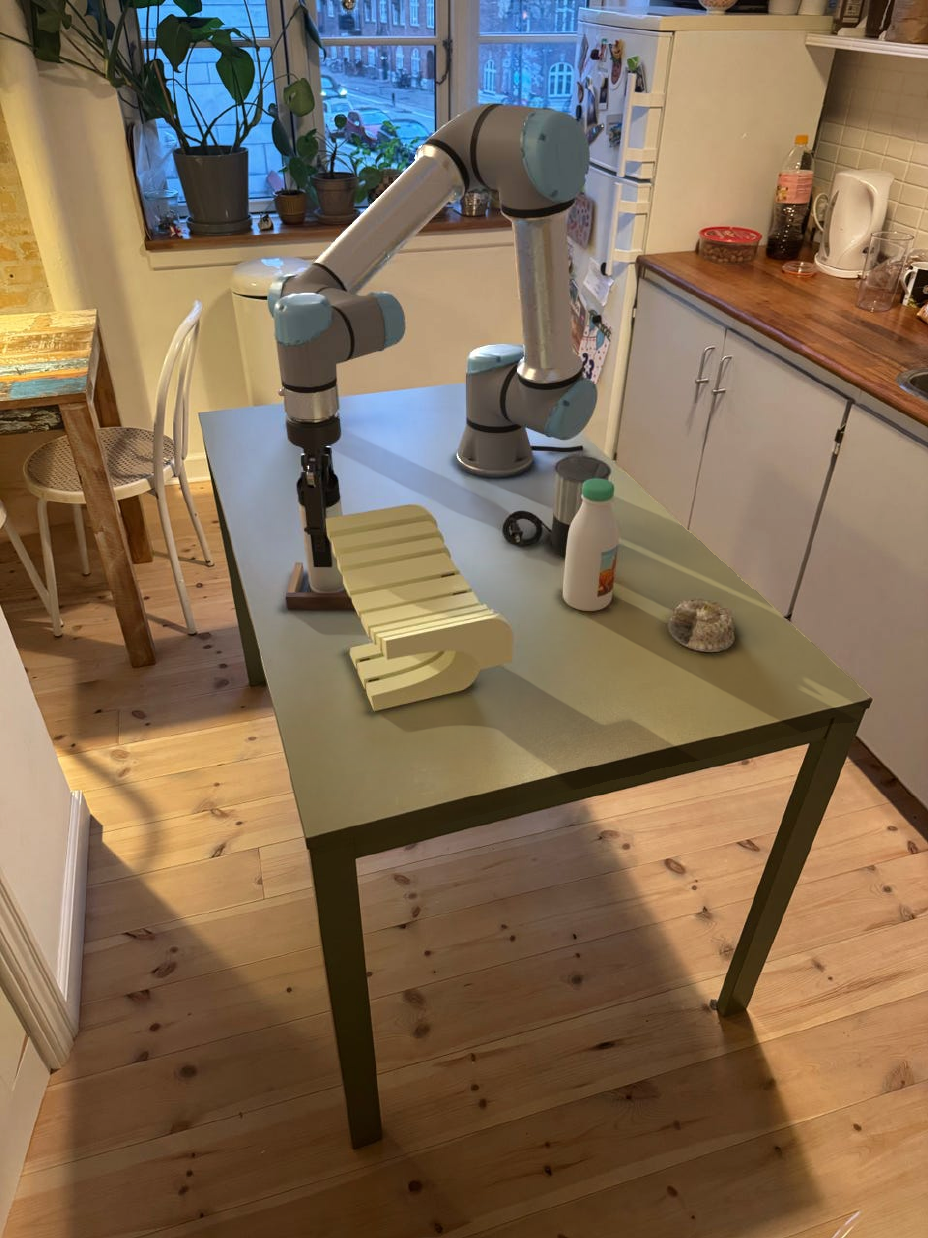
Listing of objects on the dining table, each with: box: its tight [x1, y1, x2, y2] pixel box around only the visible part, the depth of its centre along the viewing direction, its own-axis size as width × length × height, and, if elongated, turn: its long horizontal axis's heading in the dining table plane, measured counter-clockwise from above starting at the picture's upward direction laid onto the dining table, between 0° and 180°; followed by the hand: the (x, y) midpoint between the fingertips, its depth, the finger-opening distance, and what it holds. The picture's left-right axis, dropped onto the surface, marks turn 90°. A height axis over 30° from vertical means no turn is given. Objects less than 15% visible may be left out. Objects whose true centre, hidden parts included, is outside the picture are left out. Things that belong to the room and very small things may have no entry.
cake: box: [667, 597, 736, 653], centre depth 130 cm, size 10×10×5 cm
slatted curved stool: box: [326, 503, 514, 712], centre depth 119 cm, size 30×16×18 cm, turn 20°
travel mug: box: [295, 469, 347, 593], centre depth 134 cm, size 6×7×20 cm
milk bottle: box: [562, 478, 619, 612], centre depth 133 cm, size 8×8×20 cm
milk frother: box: [501, 455, 612, 558], centre depth 148 cm, size 14×16×15 cm
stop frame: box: [285, 561, 356, 611], centre depth 139 cm, size 12×10×2 cm
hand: (326, 552), depth 136 cm, fingers closed on travel mug, 6 cm apart
